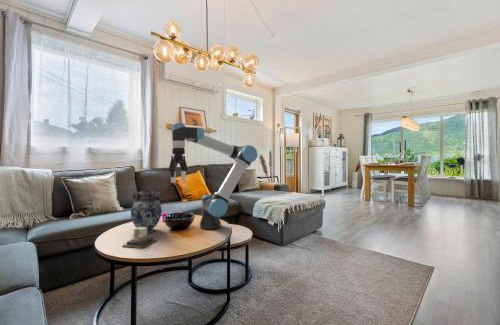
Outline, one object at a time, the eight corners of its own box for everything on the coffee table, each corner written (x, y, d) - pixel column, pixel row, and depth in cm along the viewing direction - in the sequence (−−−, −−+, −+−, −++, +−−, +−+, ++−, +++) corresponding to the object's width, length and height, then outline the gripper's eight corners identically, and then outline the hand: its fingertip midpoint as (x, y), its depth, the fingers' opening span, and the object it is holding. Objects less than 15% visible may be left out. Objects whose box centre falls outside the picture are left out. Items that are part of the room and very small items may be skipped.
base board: (157, 240, 143) (157, 236, 143) (143, 248, 130) (143, 243, 130) (137, 239, 145) (137, 235, 145) (122, 247, 132) (122, 242, 132)
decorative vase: (167, 229, 168) (167, 189, 168) (154, 237, 150) (154, 192, 150) (138, 228, 170) (139, 189, 170) (122, 236, 152) (122, 192, 152)
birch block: (147, 240, 140) (147, 227, 140) (141, 243, 135) (141, 229, 135) (139, 240, 141) (139, 226, 141) (133, 243, 136) (133, 229, 136)
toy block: (162, 224, 183) (162, 214, 183) (162, 222, 189) (162, 213, 189) (182, 222, 189) (182, 213, 189) (181, 220, 195) (181, 211, 195)
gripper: (182, 149, 163) (182, 180, 163) (162, 146, 138) (162, 183, 138) (192, 149, 162) (192, 180, 161) (174, 146, 137) (174, 183, 137)
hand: (178, 181), depth 150 cm, fingers open, 13 cm apart
